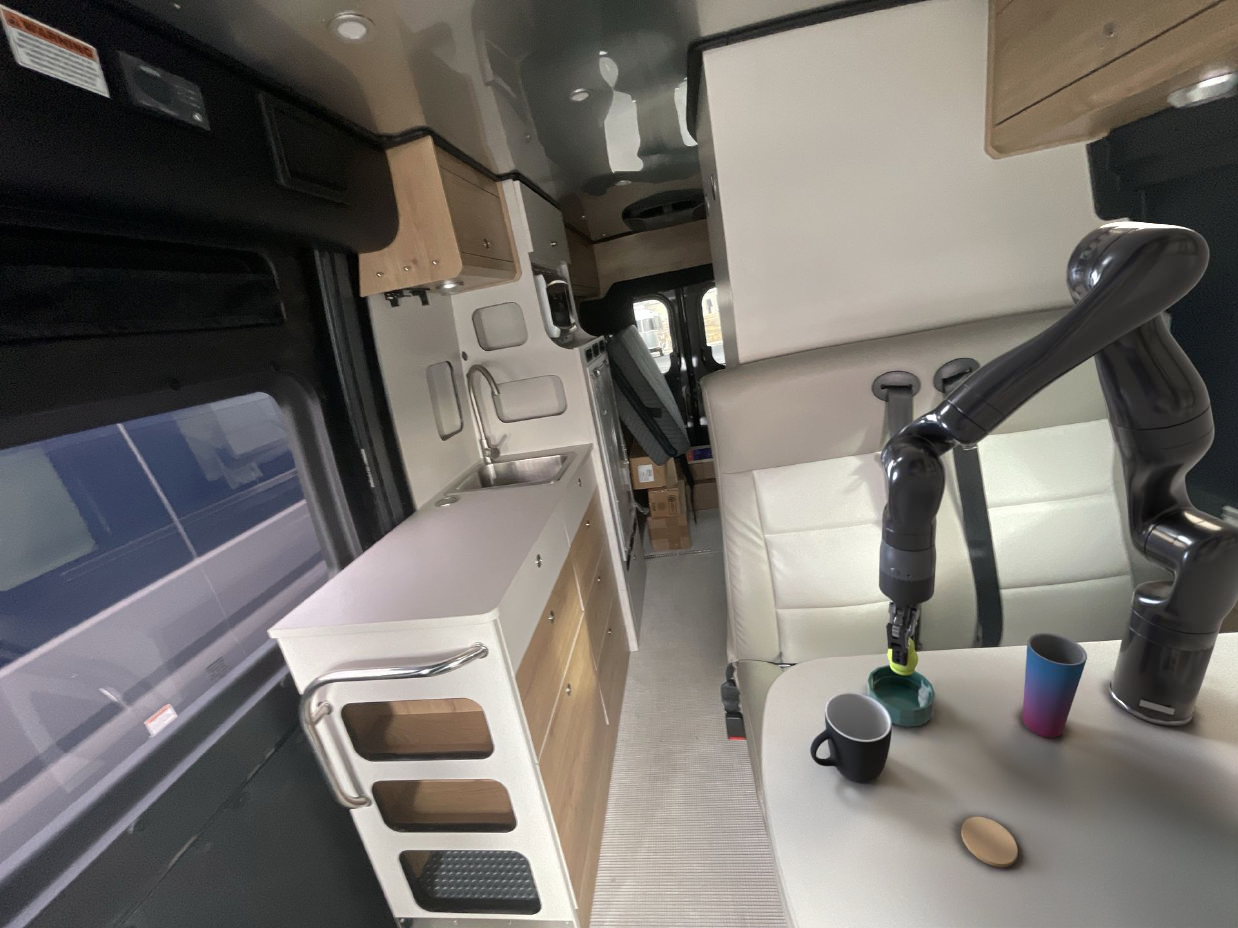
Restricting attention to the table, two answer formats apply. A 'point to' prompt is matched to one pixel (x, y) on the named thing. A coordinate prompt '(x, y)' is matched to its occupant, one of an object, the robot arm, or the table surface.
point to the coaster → (989, 841)
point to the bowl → (902, 695)
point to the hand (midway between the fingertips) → (902, 653)
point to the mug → (855, 736)
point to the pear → (910, 665)
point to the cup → (1051, 682)
